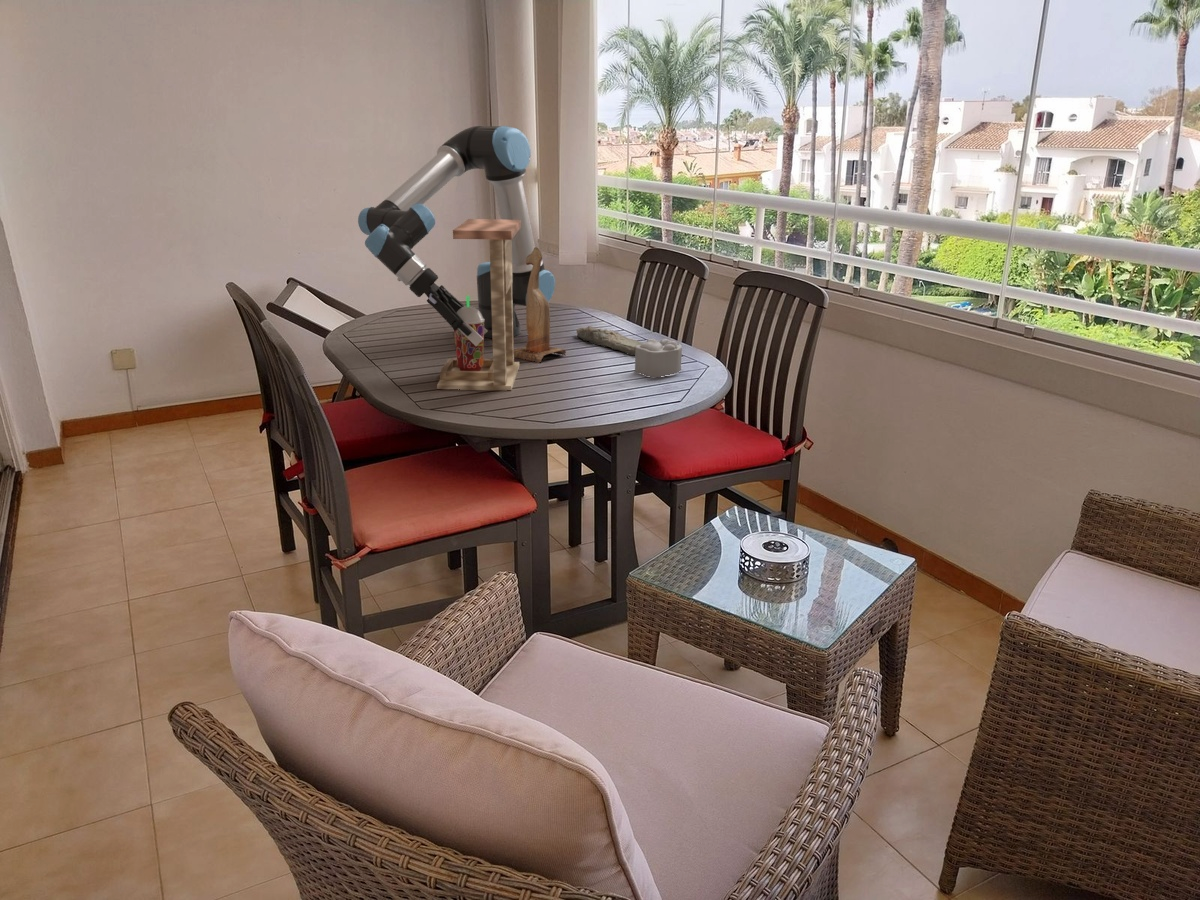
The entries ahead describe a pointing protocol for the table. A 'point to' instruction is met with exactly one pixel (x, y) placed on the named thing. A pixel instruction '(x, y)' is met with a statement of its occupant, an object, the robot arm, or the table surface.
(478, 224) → the wooden pedestal stand
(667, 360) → the lumpy-topped squat cylinder
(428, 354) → the table surface
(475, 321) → the smoothie
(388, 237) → the robot arm
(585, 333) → the long grey stone
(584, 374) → the table surface
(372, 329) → the table surface
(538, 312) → the bird sculpture
